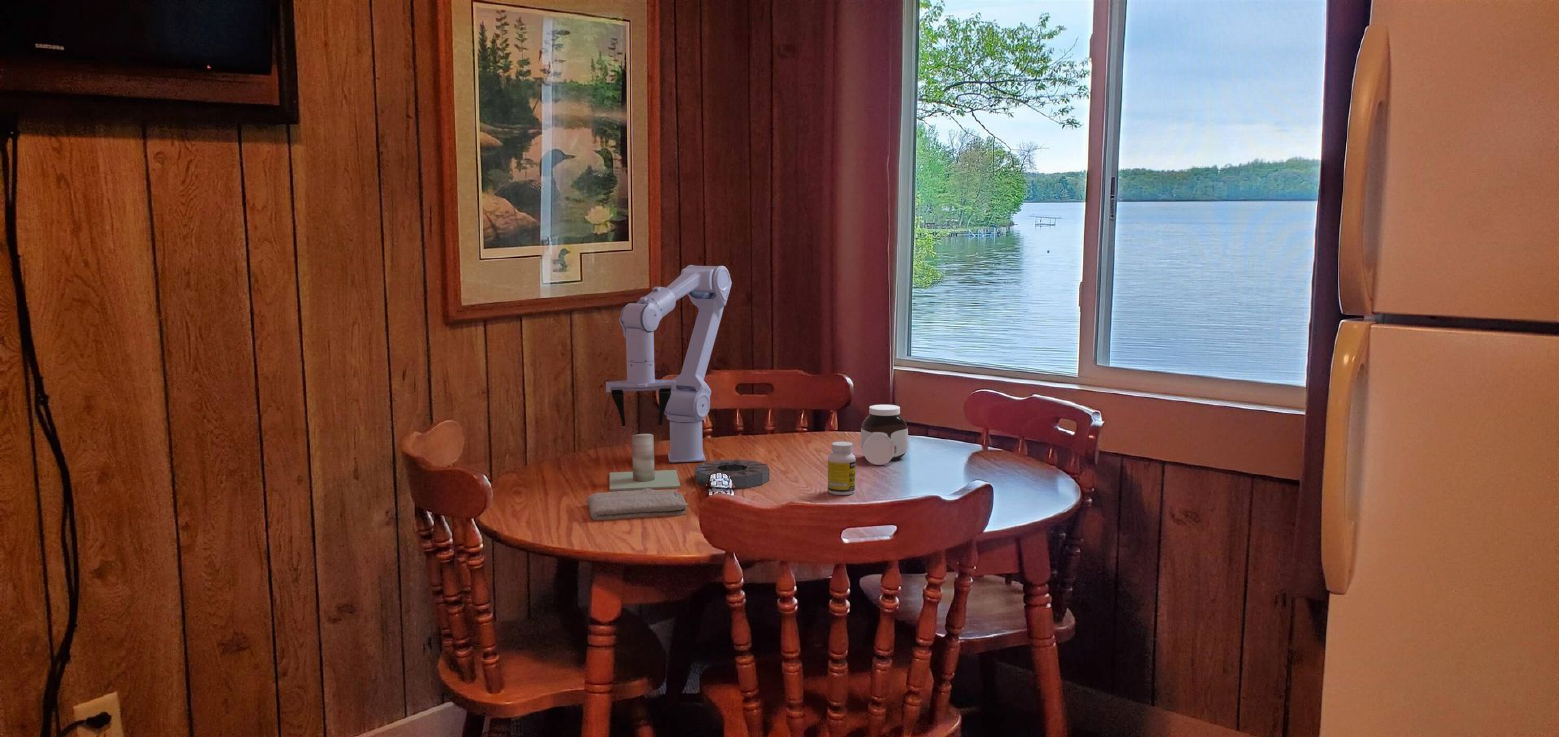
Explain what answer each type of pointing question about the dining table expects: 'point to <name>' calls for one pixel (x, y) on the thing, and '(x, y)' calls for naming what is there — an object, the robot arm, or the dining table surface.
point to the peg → (643, 457)
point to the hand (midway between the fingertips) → (642, 424)
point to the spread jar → (884, 434)
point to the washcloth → (635, 504)
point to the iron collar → (734, 472)
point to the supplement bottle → (841, 469)
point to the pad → (660, 482)
